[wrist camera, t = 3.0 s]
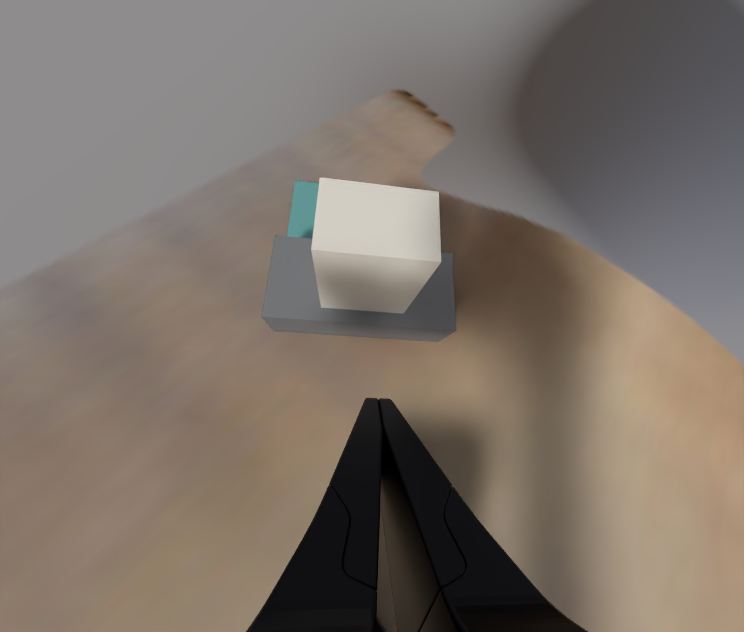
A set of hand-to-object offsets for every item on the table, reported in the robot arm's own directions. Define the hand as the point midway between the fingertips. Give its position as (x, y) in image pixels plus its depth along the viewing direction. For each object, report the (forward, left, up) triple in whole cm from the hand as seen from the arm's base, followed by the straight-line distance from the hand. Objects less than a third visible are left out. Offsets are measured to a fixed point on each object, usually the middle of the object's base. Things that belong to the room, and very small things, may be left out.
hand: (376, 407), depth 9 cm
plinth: (+7, -6, -14) cm, 16 cm away
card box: (+7, -5, -10) cm, 13 cm away
